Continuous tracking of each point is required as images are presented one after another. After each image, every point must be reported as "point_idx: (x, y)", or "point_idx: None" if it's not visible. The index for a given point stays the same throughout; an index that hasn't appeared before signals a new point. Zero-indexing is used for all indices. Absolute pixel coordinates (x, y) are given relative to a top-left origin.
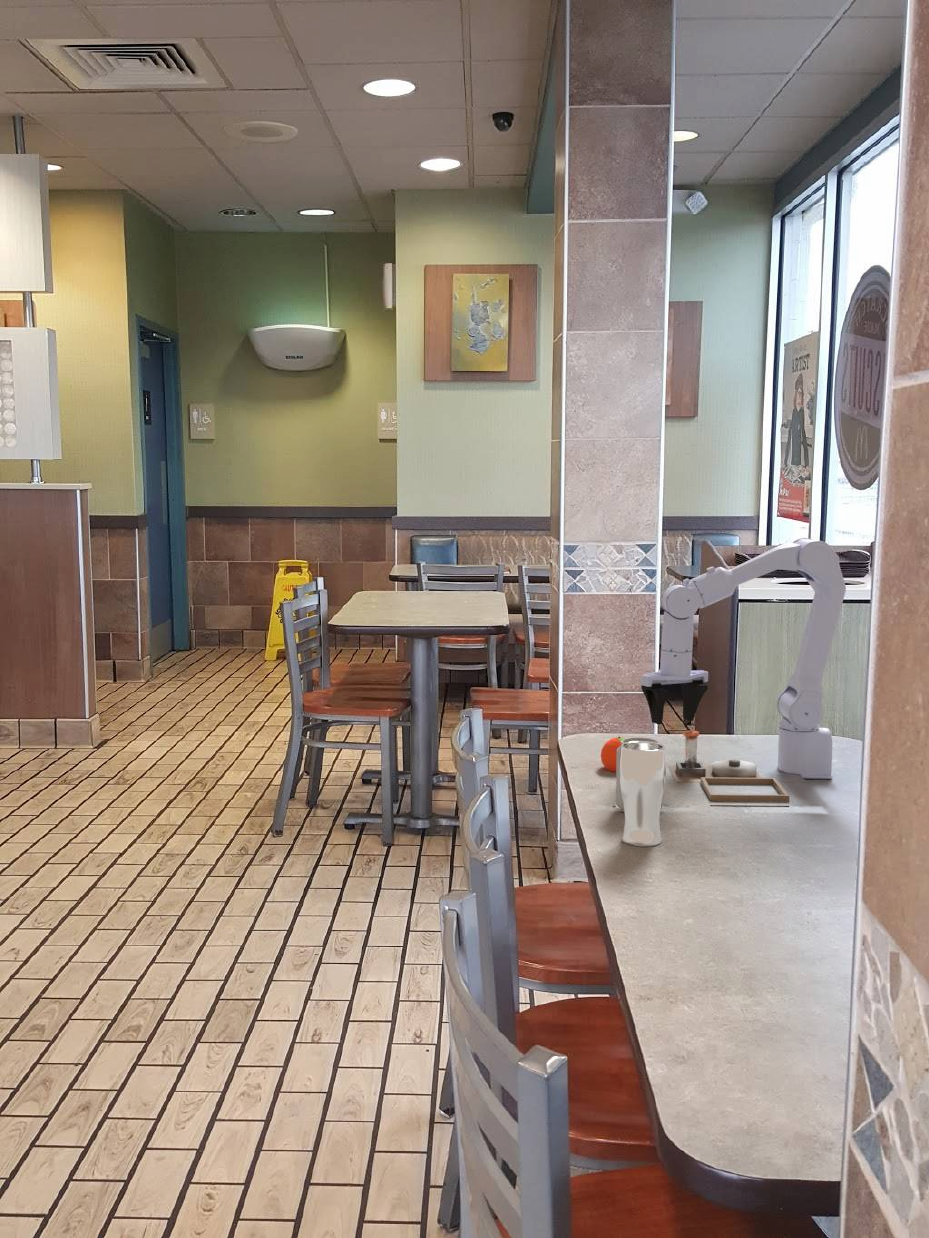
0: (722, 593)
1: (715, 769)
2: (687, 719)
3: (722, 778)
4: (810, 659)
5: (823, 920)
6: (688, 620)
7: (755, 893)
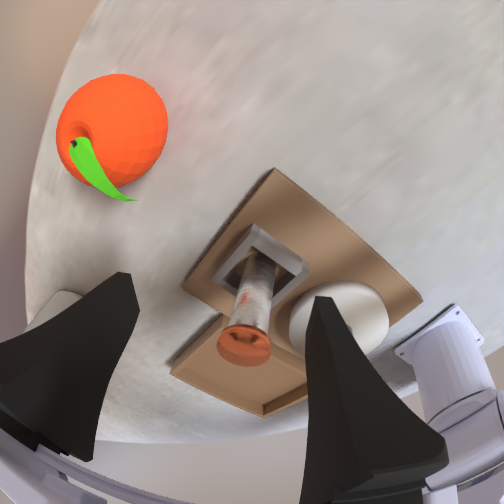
0: None
1: (291, 317)
2: (309, 319)
3: None
4: None
5: (125, 438)
6: None
7: (108, 420)
